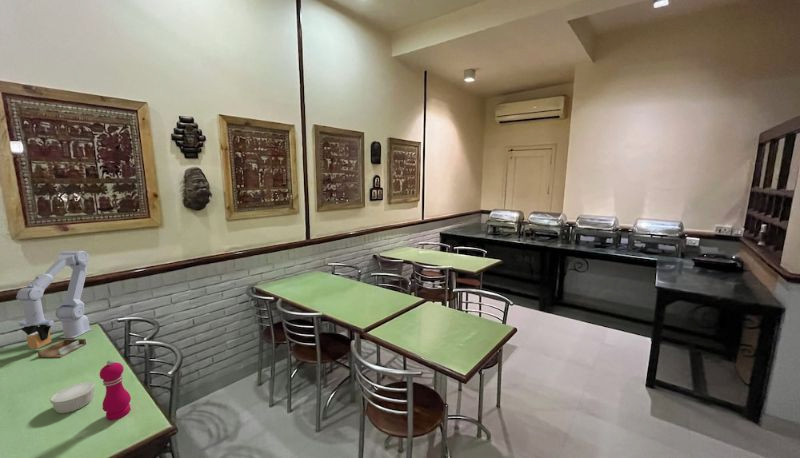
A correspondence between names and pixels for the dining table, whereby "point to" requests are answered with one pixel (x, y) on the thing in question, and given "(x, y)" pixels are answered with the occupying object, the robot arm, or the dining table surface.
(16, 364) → the dining table surface
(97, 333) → the dining table surface
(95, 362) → the dining table surface
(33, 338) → the tan block
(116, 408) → the pepper mill
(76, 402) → the ramekin
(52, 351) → the shelf
